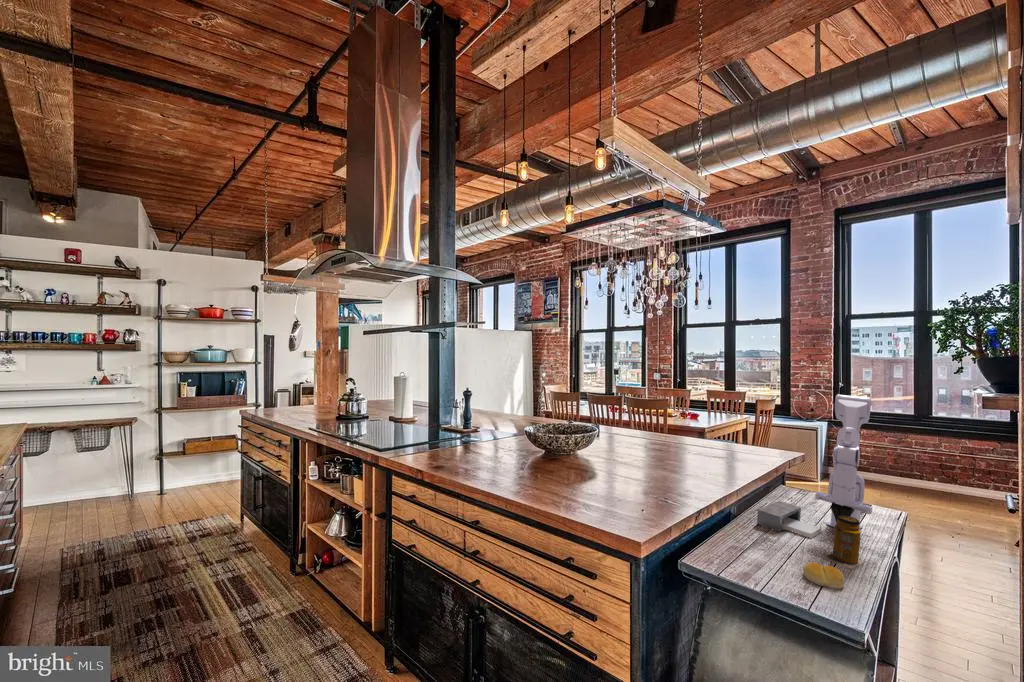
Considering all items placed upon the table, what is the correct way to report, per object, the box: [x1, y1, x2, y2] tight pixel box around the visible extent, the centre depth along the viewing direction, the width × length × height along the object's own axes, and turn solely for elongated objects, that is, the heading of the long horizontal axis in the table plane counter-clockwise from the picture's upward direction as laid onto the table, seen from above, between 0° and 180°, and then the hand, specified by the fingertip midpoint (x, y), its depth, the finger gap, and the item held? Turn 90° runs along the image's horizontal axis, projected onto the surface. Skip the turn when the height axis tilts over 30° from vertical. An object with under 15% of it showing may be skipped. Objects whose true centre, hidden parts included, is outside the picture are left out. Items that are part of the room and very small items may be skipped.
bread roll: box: [802, 562, 845, 590], centre depth 124 cm, size 8×9×4 cm
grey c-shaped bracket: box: [756, 500, 802, 533], centre depth 161 cm, size 16×7×5 cm, turn 128°
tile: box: [781, 517, 822, 539], centre depth 158 cm, size 8×13×2 cm, turn 39°
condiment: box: [822, 515, 865, 570], centre depth 136 cm, size 7×8×12 cm
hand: (841, 529), depth 147 cm, fingers closed
